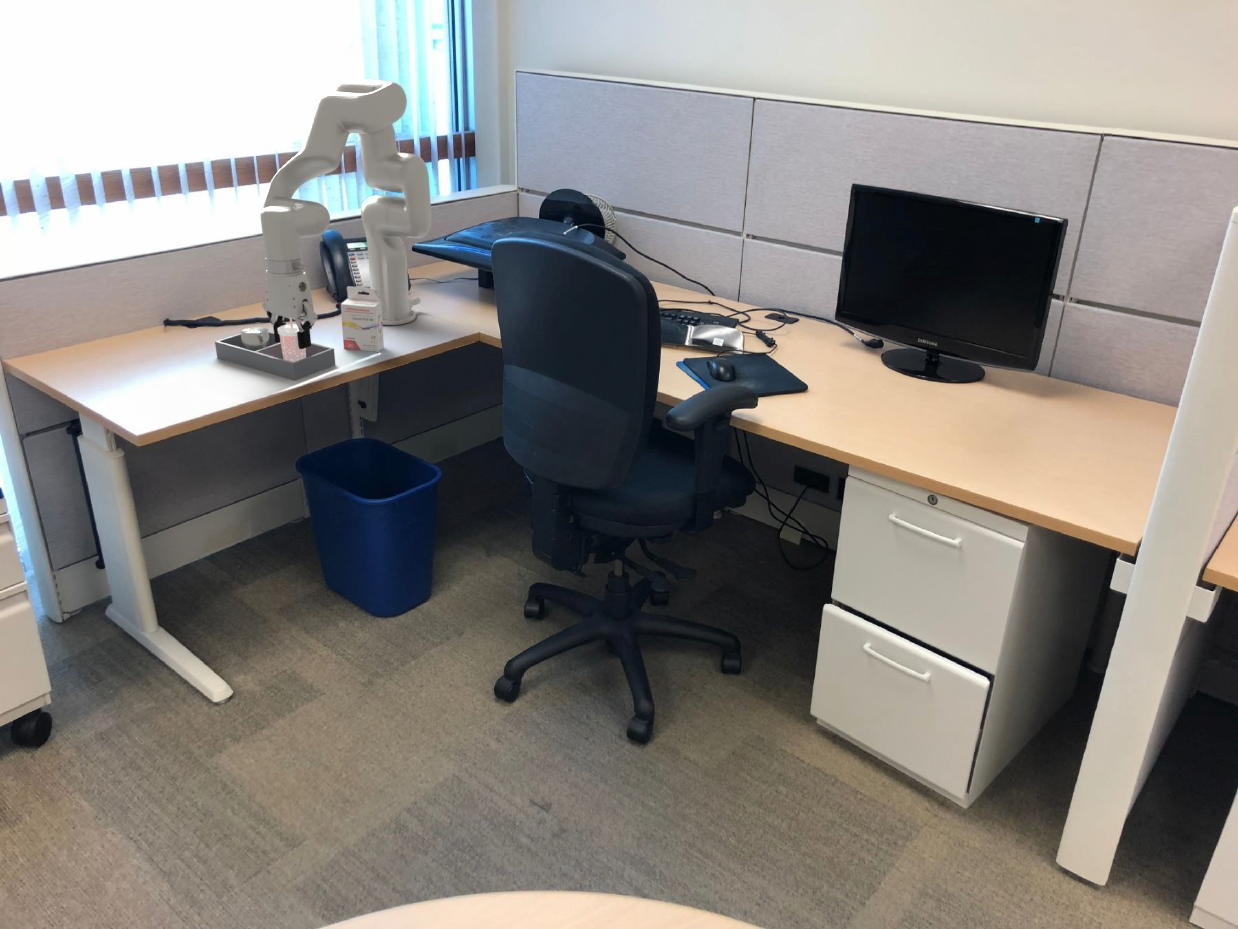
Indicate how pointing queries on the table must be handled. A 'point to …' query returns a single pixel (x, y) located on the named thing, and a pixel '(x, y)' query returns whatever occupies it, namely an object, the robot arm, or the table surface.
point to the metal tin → (255, 338)
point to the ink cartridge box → (362, 320)
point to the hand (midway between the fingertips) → (293, 343)
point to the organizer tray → (275, 357)
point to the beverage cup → (290, 343)
